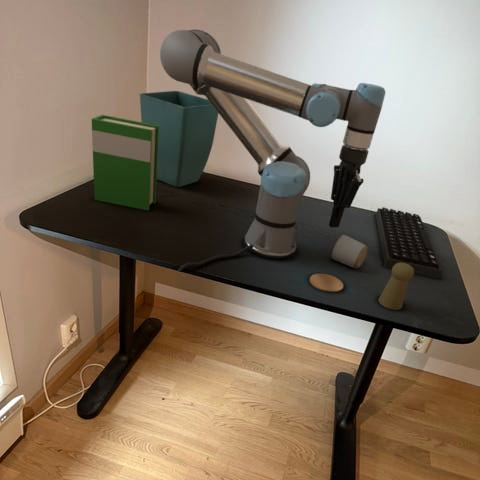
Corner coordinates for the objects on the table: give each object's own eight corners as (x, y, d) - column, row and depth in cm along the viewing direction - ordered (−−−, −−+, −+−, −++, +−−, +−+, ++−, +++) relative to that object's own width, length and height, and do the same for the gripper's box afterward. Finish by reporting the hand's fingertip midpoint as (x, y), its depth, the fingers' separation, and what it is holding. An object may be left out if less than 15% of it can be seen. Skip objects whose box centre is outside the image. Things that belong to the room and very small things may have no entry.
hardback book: (155, 202, 148) (159, 125, 134) (148, 210, 142) (151, 130, 128) (103, 192, 149) (102, 114, 135) (94, 199, 143) (91, 118, 129)
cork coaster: (319, 293, 115) (319, 291, 114) (304, 275, 121) (304, 274, 121) (349, 291, 118) (349, 290, 117) (332, 274, 124) (333, 272, 124)
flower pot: (178, 193, 158) (185, 106, 142) (136, 177, 166) (138, 92, 150) (212, 183, 173) (221, 103, 157) (172, 168, 180) (177, 90, 164)
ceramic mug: (354, 273, 127) (363, 248, 123) (328, 262, 130) (335, 237, 126) (367, 262, 135) (376, 238, 130) (343, 252, 138) (350, 228, 134)
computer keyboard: (438, 278, 132) (443, 267, 130) (384, 266, 133) (389, 255, 131) (417, 223, 169) (421, 213, 167) (375, 214, 170) (379, 205, 168)
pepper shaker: (403, 302, 117) (419, 264, 111) (400, 312, 113) (416, 274, 106) (380, 294, 119) (394, 257, 113) (376, 304, 114) (391, 266, 108)
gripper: (380, 154, 121) (354, 235, 134) (355, 141, 131) (334, 217, 144) (356, 153, 118) (333, 235, 132) (332, 139, 128) (313, 217, 142)
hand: (333, 226), depth 138 cm, fingers closed
